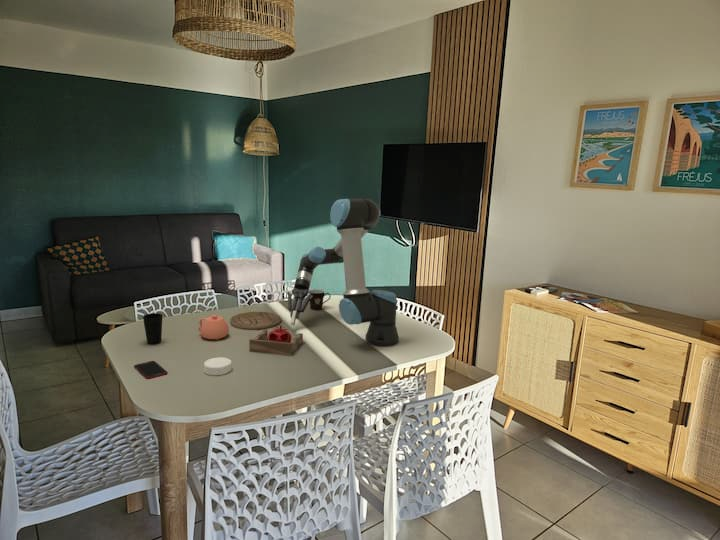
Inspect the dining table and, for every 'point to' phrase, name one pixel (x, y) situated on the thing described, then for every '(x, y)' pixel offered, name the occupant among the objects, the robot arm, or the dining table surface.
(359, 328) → the dining table surface
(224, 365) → the white round disc
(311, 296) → the robot arm
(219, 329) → the sugar bowl
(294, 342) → the walnut pocket
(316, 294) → the coffee mug
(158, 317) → the cup
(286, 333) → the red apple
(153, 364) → the cell phone
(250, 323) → the trivet
